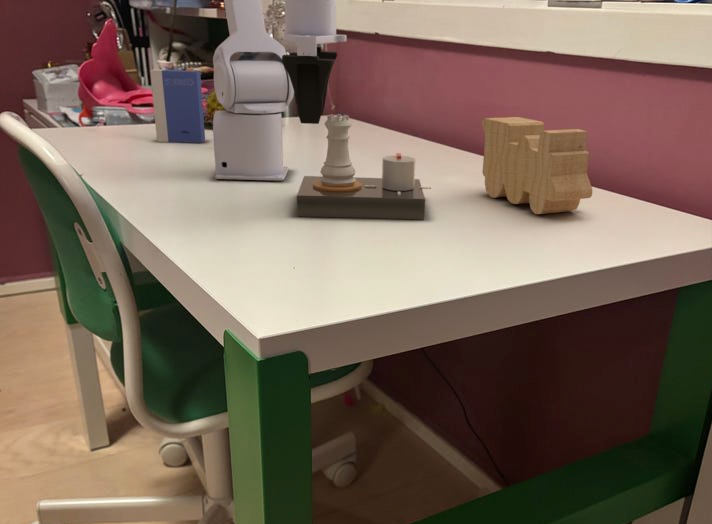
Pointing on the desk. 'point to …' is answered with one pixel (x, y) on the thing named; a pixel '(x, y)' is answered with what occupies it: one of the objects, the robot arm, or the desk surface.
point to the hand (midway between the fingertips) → (312, 118)
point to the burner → (321, 186)
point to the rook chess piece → (337, 154)
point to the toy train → (535, 164)
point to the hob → (361, 201)
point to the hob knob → (398, 172)
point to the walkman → (178, 105)
